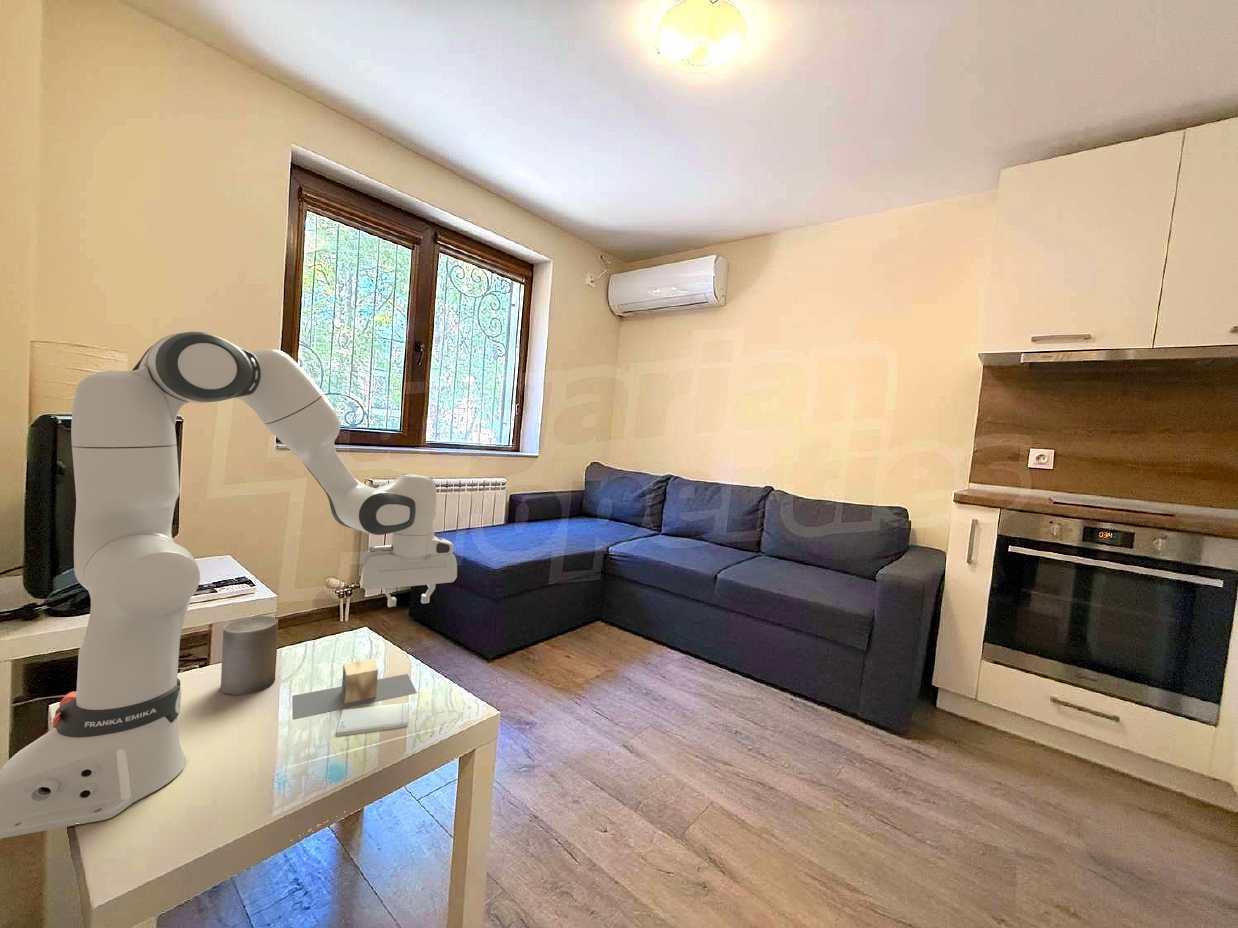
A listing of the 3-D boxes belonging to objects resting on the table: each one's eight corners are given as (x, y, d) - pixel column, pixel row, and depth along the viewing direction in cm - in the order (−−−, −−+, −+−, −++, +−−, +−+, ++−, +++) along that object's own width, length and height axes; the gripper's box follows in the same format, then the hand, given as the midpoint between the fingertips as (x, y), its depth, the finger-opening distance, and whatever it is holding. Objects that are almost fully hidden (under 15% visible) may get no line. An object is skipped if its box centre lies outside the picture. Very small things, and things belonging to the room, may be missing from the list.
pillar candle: (276, 670, 111) (279, 607, 111) (274, 689, 103) (277, 621, 103) (223, 679, 106) (226, 613, 106) (216, 700, 98) (219, 628, 97)
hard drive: (335, 732, 89) (407, 722, 94) (342, 708, 96) (409, 700, 101) (335, 740, 89) (407, 730, 94) (342, 716, 96) (408, 708, 101)
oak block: (376, 696, 103) (344, 703, 100) (371, 684, 108) (341, 690, 105) (378, 669, 103) (346, 675, 100) (373, 658, 108) (343, 663, 104)
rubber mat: (292, 720, 93) (292, 719, 93) (292, 696, 101) (292, 695, 101) (416, 693, 106) (417, 692, 106) (407, 674, 114) (407, 673, 114)
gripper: (363, 549, 100) (359, 614, 100) (461, 545, 112) (457, 603, 112) (359, 543, 105) (355, 605, 105) (453, 540, 117) (449, 595, 117)
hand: (408, 604), depth 109 cm, fingers open, 6 cm apart
